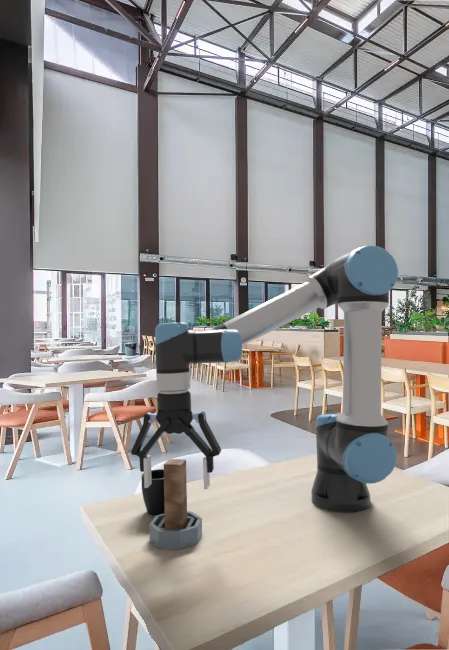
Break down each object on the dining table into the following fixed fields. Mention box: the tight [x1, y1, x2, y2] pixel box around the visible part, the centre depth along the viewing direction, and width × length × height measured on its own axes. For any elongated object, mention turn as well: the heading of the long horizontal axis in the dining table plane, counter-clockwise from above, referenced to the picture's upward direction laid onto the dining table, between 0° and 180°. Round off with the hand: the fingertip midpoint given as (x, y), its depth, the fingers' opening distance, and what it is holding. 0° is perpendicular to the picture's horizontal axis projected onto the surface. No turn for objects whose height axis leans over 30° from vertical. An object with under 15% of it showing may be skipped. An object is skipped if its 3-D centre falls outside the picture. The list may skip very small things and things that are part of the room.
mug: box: [141, 468, 165, 517], centre depth 107 cm, size 8×12×10 cm
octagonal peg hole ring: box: [149, 510, 203, 551], centre depth 95 cm, size 11×11×4 cm
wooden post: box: [163, 458, 188, 529], centre depth 95 cm, size 4×4×16 cm
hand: (177, 486), depth 95 cm, fingers open, 13 cm apart
